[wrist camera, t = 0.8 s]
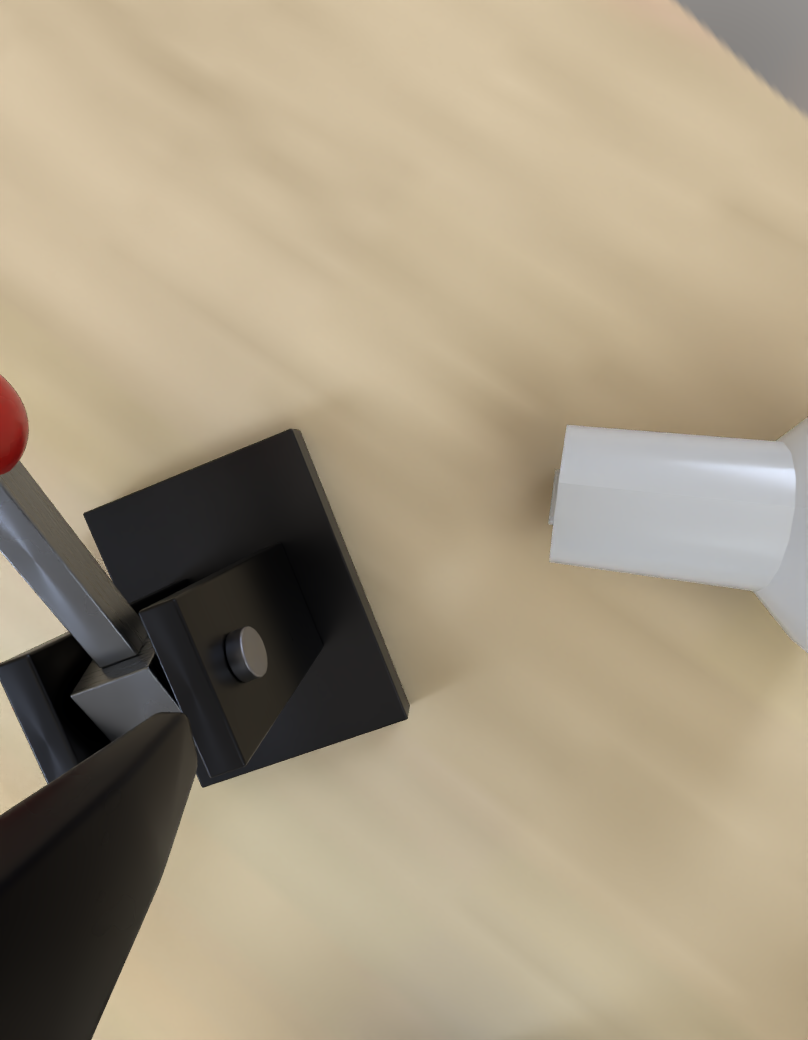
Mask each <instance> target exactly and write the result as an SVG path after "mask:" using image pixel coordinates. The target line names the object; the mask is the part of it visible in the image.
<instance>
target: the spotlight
mask: <svg viewBox="0 0 808 1040" xmlns="http://www.w3.org/2000/svg"><path fill="white" fill-rule="evenodd" d="M548 524H549V525H553V531H552V539H551V549H550V559H549V562H551V563H558V564H565V565H573V566H580V567H587V568H594V569H601V570H608V571H615V572H622V573H629V574H636V575H643V576H650V577H657V578H664V579H671V580H678V581H685V582H693V583H700V584H707V585H714V586H721V587H728V588H735V589H742V590H749V591H753V592H754V594H755V595H756V596H757V597H758V599H759V600H760V601H761V602H762V604H763V605H764V606H765V607H766V609H767V610H768V611H769V613H770V614H771V615H772V616H773V618H774V619H775V620H776V621H777V623H778V624H779V625H780V626H781V628H782V629H783V630H784V631H785V633H786V634H787V635H788V637H789V638H790V639H791V640H792V641H793V642H795V643H796V644H797V645H798V646H800V647H801V648H802V649H803V650H805V651H806V652H807V653H808V417H807V418H805V419H804V420H803V421H801V422H800V423H799V424H797V425H796V426H795V427H793V428H792V429H791V430H789V431H788V432H787V433H785V434H784V435H783V436H781V437H780V438H779V439H777V440H776V441H766V440H754V439H741V438H728V437H715V436H703V435H690V434H677V433H665V432H652V431H639V430H626V429H614V428H601V427H588V426H575V425H567V428H566V434H565V440H564V447H563V454H562V461H561V468H560V469H555V477H554V484H553V492H552V499H551V507H550V514H549V522H548Z"/></svg>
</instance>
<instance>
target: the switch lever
mask: <svg viewBox="0 0 808 1040" xmlns="http://www.w3.org/2000/svg"><path fill="white" fill-rule="evenodd" d="M28 434H29V425H28V417H27V413H26V410H25V407H24V405H23V403H22V401H21V399H20V397H19V395H18V394H17V392H16V391H15V389H14V388H13V387H12V386H11V384H10V383H9V382H8V381H7V380H6V379H5V378H4V377H3V376H2V375H0V551H1V553H2V554H3V555H4V556H5V557H6V558H7V560H8V561H9V562H10V563H11V564H12V565H13V567H14V568H15V569H16V570H17V571H18V573H19V574H20V575H21V576H22V577H23V578H24V580H25V581H26V582H27V583H28V584H29V585H30V587H31V588H32V589H33V590H34V591H35V593H36V594H37V595H38V596H39V597H40V598H41V600H42V601H43V602H44V603H45V604H46V605H47V607H48V608H49V609H50V610H51V611H52V612H53V614H54V615H55V616H56V617H57V618H58V620H59V621H60V622H61V623H62V624H63V625H64V627H65V628H66V629H67V630H68V631H69V632H70V634H71V635H72V636H73V637H74V638H75V639H76V641H77V642H78V643H79V644H80V645H81V647H82V648H83V649H84V650H85V651H86V652H87V654H88V655H89V656H90V657H91V658H92V659H93V660H92V662H91V663H90V665H89V666H88V668H87V670H86V671H85V673H84V674H83V676H82V678H81V679H80V681H79V682H78V684H77V686H76V687H75V689H74V690H73V692H72V694H71V695H70V697H71V698H72V699H73V700H74V701H75V703H76V704H77V705H78V706H79V707H80V708H81V709H82V710H83V711H84V712H85V714H86V715H87V716H88V717H89V718H90V719H91V720H92V721H93V722H94V723H95V725H96V726H97V727H98V728H99V729H100V730H101V731H102V732H103V733H104V734H105V735H106V737H107V738H108V739H109V740H110V741H111V742H113V741H114V740H116V739H117V738H119V737H120V736H122V735H123V734H125V733H126V732H128V731H129V730H131V729H132V728H134V727H136V726H137V725H139V724H140V723H142V722H143V721H145V720H146V719H148V718H149V717H151V716H152V715H154V714H156V713H159V712H181V710H180V708H179V706H178V704H177V701H176V699H175V697H174V694H173V692H172V690H171V687H170V685H169V683H168V680H167V678H166V676H165V674H164V671H163V669H162V667H161V664H160V662H159V660H158V657H157V655H156V653H155V650H154V648H153V646H152V644H151V641H150V639H149V637H148V634H147V632H146V630H145V627H144V625H143V623H142V621H141V619H140V617H139V616H138V615H137V613H136V612H135V611H134V610H133V608H132V607H131V606H130V604H129V603H128V602H127V600H126V599H125V598H124V596H123V595H122V594H121V593H120V591H119V590H118V589H117V587H116V586H115V585H114V583H113V582H112V581H111V579H110V578H109V577H108V576H107V574H106V573H105V572H104V570H103V569H102V568H101V566H100V565H99V564H98V562H97V561H96V560H95V559H94V557H93V556H92V555H91V553H90V552H89V551H88V549H87V548H86V547H85V545H84V544H83V543H82V542H81V540H80V539H79V538H78V536H77V535H76V534H75V532H74V531H73V530H72V528H71V527H70V526H69V525H68V523H67V522H66V521H65V519H64V518H63V517H62V515H61V514H60V513H59V511H58V510H57V509H56V508H55V506H54V505H53V504H52V502H51V501H50V500H49V498H48V497H47V496H46V495H45V493H44V492H43V491H42V489H41V488H40V487H39V485H38V484H37V483H36V481H35V480H34V479H33V478H32V476H31V475H30V474H29V472H28V471H27V470H26V468H25V467H24V466H23V464H22V463H21V462H20V461H19V460H20V458H21V457H22V455H23V453H24V451H25V448H26V445H27V441H28ZM195 746H196V745H195Z"/></svg>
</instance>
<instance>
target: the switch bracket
mask: <svg viewBox="0 0 808 1040" xmlns="http://www.w3.org/2000/svg"><path fill="white" fill-rule="evenodd" d="M83 515H84V518H85V520H86V522H87V524H88V527H89V529H90V531H91V534H92V536H93V538H94V540H95V543H96V545H97V547H98V550H99V552H100V554H101V557H102V559H103V561H104V563H105V566H106V568H107V570H108V573H109V575H110V577H111V579H112V582H113V583H114V585H115V586H116V587H117V589H118V590H119V591H120V593H121V594H122V595H123V596H124V598H125V599H126V600H127V602H128V603H129V604H130V606H131V607H132V608H133V610H134V611H135V612H136V613H137V615H138V616H139V617H140V619H141V621H142V623H143V625H144V627H145V630H146V632H147V634H148V637H149V639H150V641H151V644H152V646H153V648H154V650H155V653H156V655H157V657H158V660H159V662H160V664H161V667H162V669H163V671H164V674H165V676H166V678H167V680H168V683H169V685H170V687H171V690H172V692H173V694H174V697H175V699H176V701H177V704H178V706H179V708H180V710H181V712H182V713H184V714H186V715H187V717H188V718H189V721H190V725H191V730H192V734H193V739H194V743H195V745H196V746H195V748H196V752H197V761H198V762H197V770H196V775H197V777H198V779H199V781H200V784H201V786H202V787H203V788H204V787H206V786H209V785H212V784H215V783H218V782H221V781H224V780H227V779H230V778H233V777H236V776H239V775H242V774H245V773H248V772H251V771H254V770H257V769H260V768H263V767H266V766H269V765H272V764H275V763H278V762H281V761H284V760H287V759H290V758H293V757H296V756H299V755H302V754H305V753H308V752H311V751H314V750H317V749H320V748H323V747H326V746H329V745H332V744H335V743H338V742H341V741H344V740H347V739H350V738H353V737H356V736H359V735H362V734H365V733H368V732H371V731H374V730H377V729H380V728H382V727H385V726H388V725H391V724H394V723H397V722H400V721H403V720H406V719H408V713H409V707H410V705H409V703H408V700H407V698H406V695H405V693H404V690H403V688H402V685H401V683H400V680H399V678H398V675H397V673H396V670H395V668H394V665H393V663H392V660H391V658H390V655H389V653H388V650H387V647H386V645H385V642H384V640H383V637H382V635H381V632H380V630H379V627H378V625H377V622H376V620H375V617H374V615H373V612H372V610H371V607H370V605H369V602H368V600H367V597H366V595H365V592H364V590H363V587H362V585H361V582H360V580H359V577H358V575H357V572H356V570H355V567H354V565H353V562H352V560H351V557H350V555H349V552H348V550H347V547H346V545H345V542H344V540H343V537H342V535H341V532H340V530H339V527H338V525H337V522H336V520H335V517H334V515H333V512H332V510H331V507H330V505H329V502H328V500H327V497H326V495H325V492H324V490H323V487H322V485H321V482H320V480H319V477H318V475H317V472H316V470H315V467H314V464H313V462H312V459H311V457H310V454H309V452H308V449H307V447H306V444H305V442H304V439H303V437H302V434H301V432H300V430H296V429H289V430H286V431H284V432H281V433H279V434H276V435H274V436H271V437H269V438H267V439H264V440H262V441H259V442H257V443H254V444H252V445H249V446H247V447H244V448H242V449H240V450H237V451H235V452H232V453H230V454H227V455H225V456H222V457H220V458H218V459H215V460H213V461H210V462H208V463H205V464H203V465H200V466H198V467H195V468H193V469H191V470H188V471H186V472H183V473H181V474H178V475H176V476H173V477H171V478H169V479H166V480H164V481H161V482H159V483H156V484H154V485H151V486H149V487H146V488H144V489H142V490H139V491H137V492H134V493H132V494H129V495H127V496H124V497H122V498H119V499H117V500H115V501H112V502H110V503H107V504H105V505H102V506H100V507H97V508H95V509H93V510H90V511H88V512H85V513H84V514H83ZM92 660H93V659H92V658H91V657H90V656H89V655H88V654H87V652H86V651H85V650H84V649H83V648H82V647H81V645H80V644H79V643H78V642H77V641H76V639H75V638H74V637H73V636H72V635H71V634H70V632H66V633H64V634H62V635H60V636H58V637H56V638H54V639H51V640H49V641H47V642H45V643H43V644H41V645H39V646H36V647H34V648H32V649H30V650H28V651H26V652H24V653H21V654H19V655H17V656H15V657H13V658H11V659H9V660H6V661H4V662H2V663H0V682H1V684H2V686H3V688H4V690H5V693H6V695H7V697H8V699H9V701H10V703H11V706H12V708H13V710H14V712H15V714H16V717H17V719H18V721H19V723H20V725H21V727H22V730H23V732H24V734H25V736H26V738H27V741H28V743H29V745H30V747H31V749H32V751H33V754H34V756H35V758H36V760H37V762H38V764H39V767H40V769H41V771H42V773H43V775H44V778H45V780H46V782H47V784H49V783H50V782H52V781H53V780H55V779H56V778H58V777H59V776H61V775H63V774H64V773H66V772H67V771H69V770H70V769H72V768H73V767H75V766H76V765H78V764H79V763H81V762H82V761H84V760H85V759H87V758H88V757H90V756H91V755H93V754H94V753H96V752H97V751H99V750H101V749H102V748H104V747H105V746H107V745H108V744H110V743H111V741H110V740H109V739H108V738H107V737H106V735H105V734H104V733H103V732H102V731H101V730H100V729H99V728H98V727H97V726H96V725H95V723H94V722H93V721H92V720H91V719H90V718H89V717H88V716H87V715H86V714H85V712H84V711H83V710H82V709H81V708H80V707H79V706H78V705H77V704H76V703H75V701H74V700H73V699H72V698H71V697H70V695H71V694H72V692H73V690H74V689H75V687H76V686H77V684H78V682H79V681H80V679H81V678H82V676H83V674H84V673H85V671H86V670H87V668H88V666H89V665H90V663H91V662H92Z"/></svg>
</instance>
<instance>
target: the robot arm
mask: <svg viewBox="0 0 808 1040" xmlns="http://www.w3.org/2000/svg"><path fill="white" fill-rule="evenodd" d="M197 762H198V761H197V752H196V748H195V743H194V739H193V734H192V730H191V725H190V721H189V718H188V717H187V715H186V714H184V713H182V712H159V713H156V714H154V715H152V716H151V717H149V718H148V719H146V720H145V721H143V722H142V723H140V724H139V725H137V726H136V727H134V728H132V729H131V730H129V731H128V732H126V733H125V734H123V735H122V736H120V737H119V738H117V739H116V740H114V741H113V742H111V743H110V744H108V745H107V746H105V747H104V748H102V749H101V750H99V751H97V752H96V753H94V754H93V755H91V756H90V757H88V758H87V759H85V760H84V761H82V762H81V763H79V764H78V765H76V766H75V767H73V768H72V769H70V770H69V771H67V772H66V773H64V774H63V775H61V776H59V777H58V778H56V779H55V780H53V781H52V782H50V783H49V784H47V785H46V786H44V787H43V788H41V789H40V790H38V791H37V792H35V793H34V794H32V795H31V796H29V797H28V798H26V799H24V800H23V801H21V802H20V803H18V804H17V805H15V806H14V807H12V808H11V809H9V810H8V811H6V812H5V813H3V814H2V815H0V1040H91V1039H92V1037H93V1034H94V1032H95V1030H96V1027H97V1025H98V1023H99V1021H100V1018H101V1016H102V1014H103V1011H104V1009H105V1007H106V1005H107V1002H108V1000H109V998H110V995H111V993H112V991H113V989H114V986H115V984H116V982H117V979H118V977H119V975H120V973H121V970H122V968H123V966H124V963H125V961H126V959H127V957H128V954H129V952H130V950H131V948H132V945H133V943H134V941H135V938H136V936H137V934H138V932H139V929H140V927H141V925H142V922H143V920H144V918H145V916H146V913H147V911H148V909H149V906H150V904H151V902H152V900H153V897H154V895H155V892H156V890H157V887H158V885H159V883H160V880H161V877H162V875H163V872H164V869H165V866H166V863H167V860H168V857H169V854H170V851H171V848H172V845H173V842H174V839H175V836H176V833H177V830H178V827H179V824H180V821H181V817H182V814H183V811H184V808H185V805H186V802H187V799H188V796H189V793H190V790H191V787H192V784H193V781H194V778H195V774H196V770H197Z"/></svg>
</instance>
